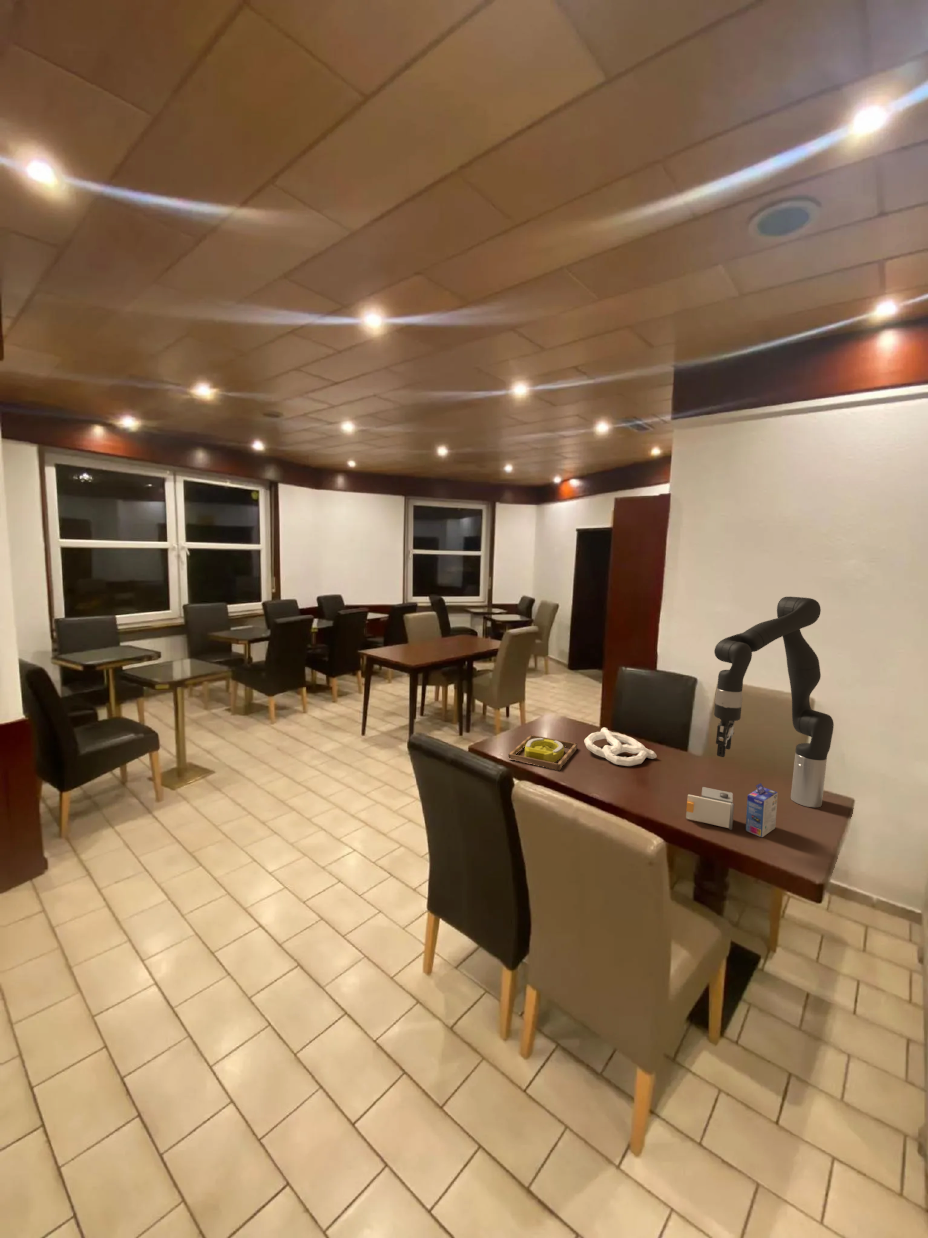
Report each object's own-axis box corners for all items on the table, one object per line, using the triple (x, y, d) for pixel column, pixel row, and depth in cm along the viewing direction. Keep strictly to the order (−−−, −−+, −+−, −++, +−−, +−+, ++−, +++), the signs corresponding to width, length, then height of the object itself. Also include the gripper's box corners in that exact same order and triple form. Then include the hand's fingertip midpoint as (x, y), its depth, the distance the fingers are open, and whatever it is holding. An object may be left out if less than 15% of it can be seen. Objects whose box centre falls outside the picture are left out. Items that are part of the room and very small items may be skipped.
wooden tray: (530, 739, 238) (530, 734, 237) (577, 748, 228) (577, 743, 227) (508, 760, 214) (508, 754, 213) (559, 770, 204) (559, 764, 203)
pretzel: (659, 760, 220) (662, 747, 218) (628, 777, 205) (631, 762, 203) (605, 734, 240) (607, 722, 239) (573, 747, 225) (575, 734, 224)
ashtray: (517, 760, 214) (517, 749, 214) (532, 744, 233) (532, 733, 232) (555, 768, 207) (555, 756, 207) (567, 750, 226) (568, 740, 225)
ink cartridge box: (757, 821, 167) (761, 779, 165) (775, 828, 163) (780, 785, 161) (743, 830, 161) (747, 787, 160) (762, 838, 157) (766, 793, 155)
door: (686, 817, 168) (687, 793, 167) (732, 828, 162) (734, 803, 161) (685, 820, 166) (687, 796, 165) (732, 831, 160) (734, 806, 159)
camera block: (700, 812, 173) (702, 784, 171) (730, 818, 168) (732, 790, 167) (699, 821, 166) (701, 793, 165) (730, 828, 162) (732, 799, 161)
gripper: (720, 696, 169) (716, 743, 171) (710, 705, 158) (705, 756, 160) (745, 701, 164) (740, 749, 166) (737, 710, 153) (732, 762, 155)
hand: (723, 752), depth 163 cm, fingers open, 8 cm apart
